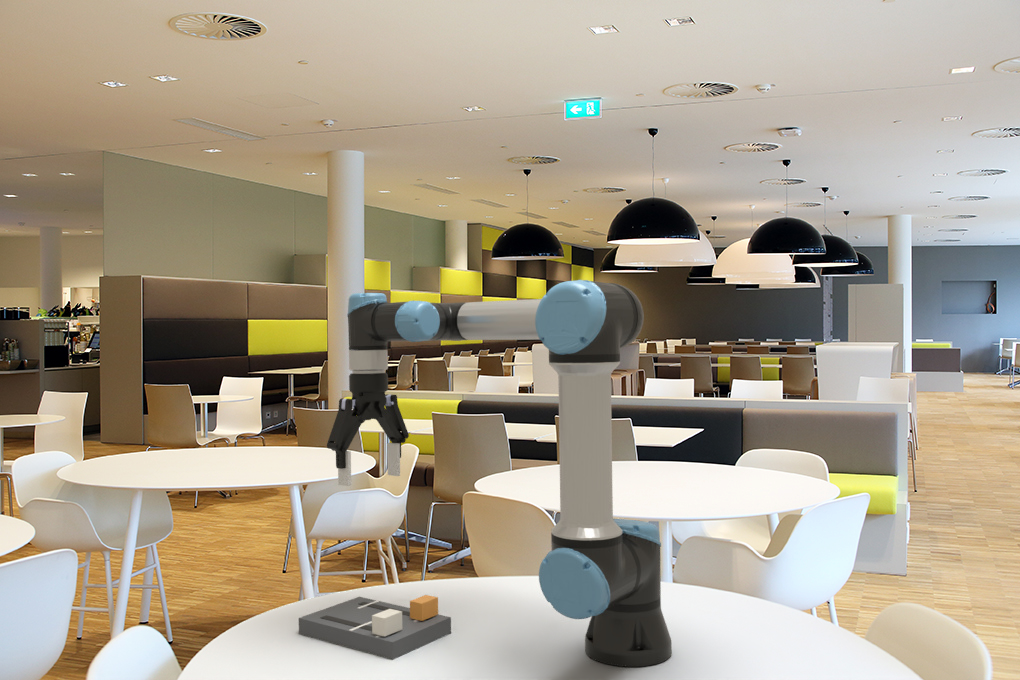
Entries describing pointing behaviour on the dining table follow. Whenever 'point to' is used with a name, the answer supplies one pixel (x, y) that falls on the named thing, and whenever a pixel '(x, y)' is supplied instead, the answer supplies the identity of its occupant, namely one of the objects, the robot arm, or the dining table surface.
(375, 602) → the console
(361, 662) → the dining table surface
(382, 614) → the fader cream
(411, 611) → the fader orange
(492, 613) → the dining table surface
